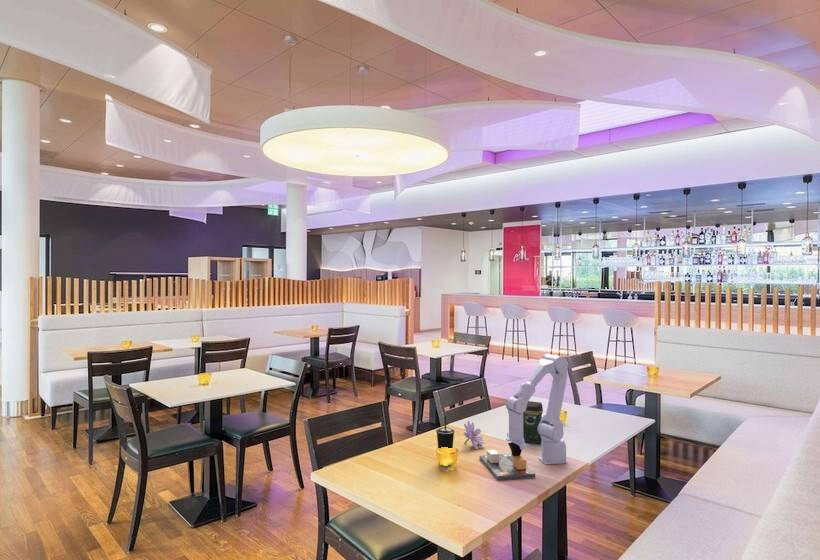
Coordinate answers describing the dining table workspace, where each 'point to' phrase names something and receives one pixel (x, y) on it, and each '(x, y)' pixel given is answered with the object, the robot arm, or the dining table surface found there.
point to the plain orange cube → (519, 462)
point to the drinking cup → (445, 436)
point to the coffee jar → (532, 422)
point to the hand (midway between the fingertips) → (516, 461)
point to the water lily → (473, 434)
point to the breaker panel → (506, 468)
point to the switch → (493, 456)
